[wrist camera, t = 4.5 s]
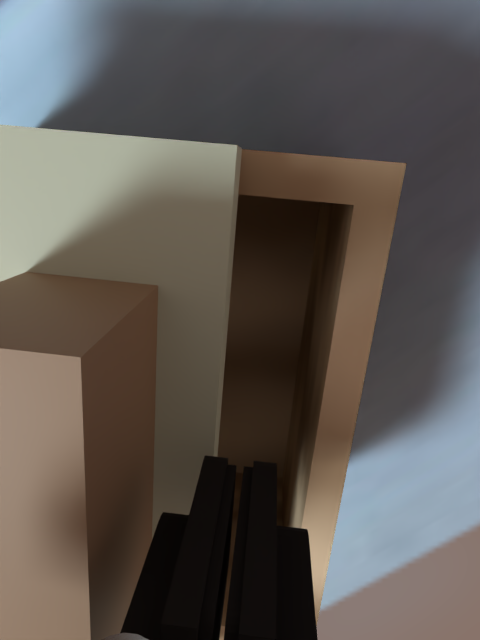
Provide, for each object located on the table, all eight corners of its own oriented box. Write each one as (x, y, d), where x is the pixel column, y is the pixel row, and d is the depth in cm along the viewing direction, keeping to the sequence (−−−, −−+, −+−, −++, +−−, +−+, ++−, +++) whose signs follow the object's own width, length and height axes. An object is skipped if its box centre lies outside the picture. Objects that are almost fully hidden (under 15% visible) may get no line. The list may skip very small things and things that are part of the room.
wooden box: (23, 139, 19) (-183, 112, 11) (347, 168, 18) (406, 163, 10) (44, 451, 24) (-82, 602, 16) (298, 483, 23) (310, 659, 15)
